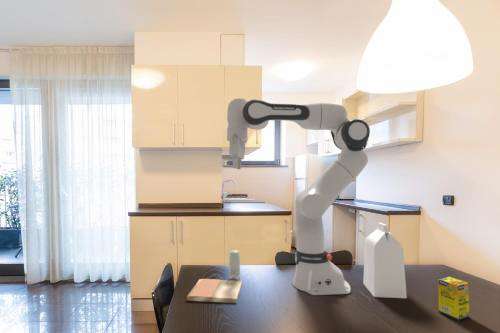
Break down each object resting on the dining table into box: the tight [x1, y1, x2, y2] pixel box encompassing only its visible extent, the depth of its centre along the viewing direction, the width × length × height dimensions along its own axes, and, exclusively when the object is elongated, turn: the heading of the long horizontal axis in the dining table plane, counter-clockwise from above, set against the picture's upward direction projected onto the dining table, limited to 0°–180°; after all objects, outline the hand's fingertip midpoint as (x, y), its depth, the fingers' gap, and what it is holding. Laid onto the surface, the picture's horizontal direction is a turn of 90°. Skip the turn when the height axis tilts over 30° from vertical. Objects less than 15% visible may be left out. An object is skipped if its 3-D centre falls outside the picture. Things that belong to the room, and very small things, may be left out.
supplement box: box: [437, 276, 470, 322], centre depth 84 cm, size 6×6×11 cm
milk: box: [363, 222, 408, 299], centre depth 103 cm, size 12×12×26 cm
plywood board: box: [186, 278, 243, 304], centre depth 101 cm, size 18×16×2 cm
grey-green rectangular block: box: [228, 249, 241, 281], centre depth 113 cm, size 4×4×12 cm
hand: (237, 168), depth 112 cm, fingers open, 8 cm apart
